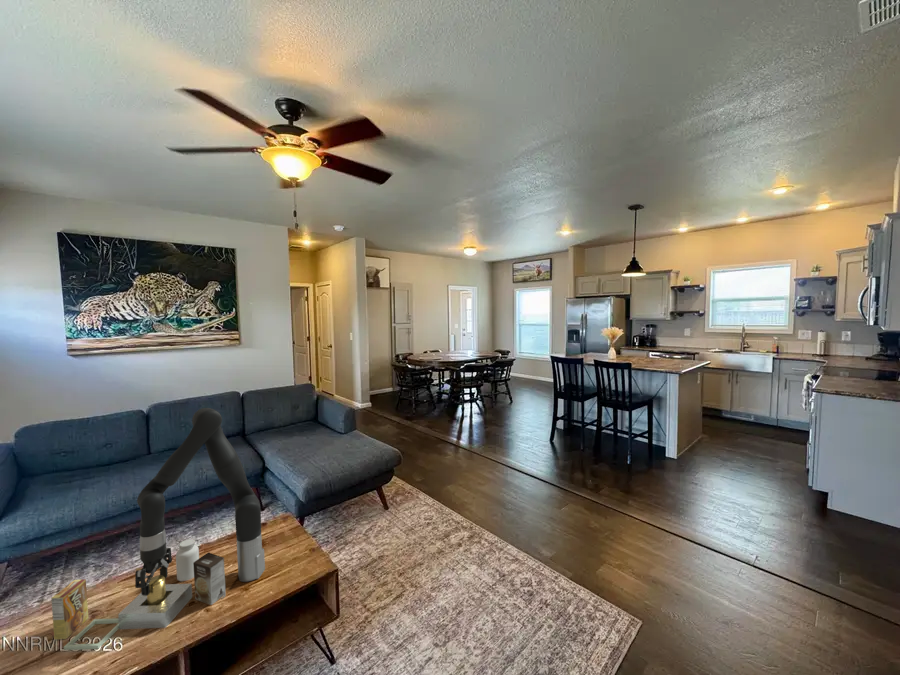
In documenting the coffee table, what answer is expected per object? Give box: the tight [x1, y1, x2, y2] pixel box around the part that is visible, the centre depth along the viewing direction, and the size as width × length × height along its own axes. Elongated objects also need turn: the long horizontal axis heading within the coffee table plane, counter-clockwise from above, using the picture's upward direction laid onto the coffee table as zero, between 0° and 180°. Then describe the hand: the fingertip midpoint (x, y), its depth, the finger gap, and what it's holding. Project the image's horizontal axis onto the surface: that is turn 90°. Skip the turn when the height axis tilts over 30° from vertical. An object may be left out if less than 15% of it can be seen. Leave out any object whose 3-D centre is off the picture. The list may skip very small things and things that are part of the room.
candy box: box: [50, 578, 89, 641], centre depth 130 cm, size 9×4×15 cm, turn 6°
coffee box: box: [193, 552, 226, 606], centre depth 144 cm, size 9×6×16 cm
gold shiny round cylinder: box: [147, 574, 166, 606], centre depth 136 cm, size 5×5×13 cm
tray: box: [63, 617, 120, 651], centre depth 127 cm, size 11×11×2 cm
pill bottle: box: [175, 538, 200, 582], centre depth 156 cm, size 8×8×15 cm
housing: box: [117, 583, 193, 630], centre depth 137 cm, size 16×14×6 cm
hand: (155, 586), depth 136 cm, fingers open, 8 cm apart
